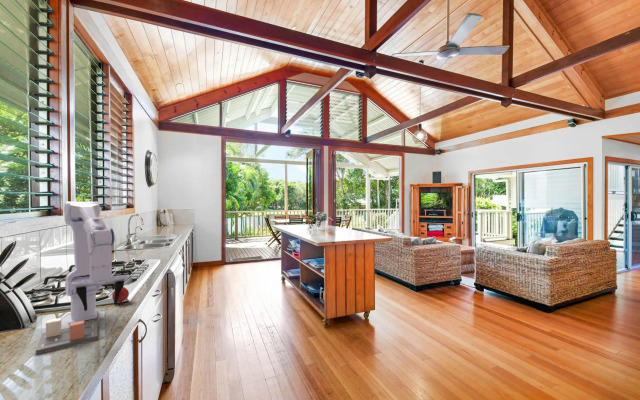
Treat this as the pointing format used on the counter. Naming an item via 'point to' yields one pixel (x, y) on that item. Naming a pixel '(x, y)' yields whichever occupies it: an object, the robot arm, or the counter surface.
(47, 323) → the fader cream
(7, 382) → the counter surface
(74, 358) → the counter surface
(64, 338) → the grey base plate
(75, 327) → the block
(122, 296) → the onion
